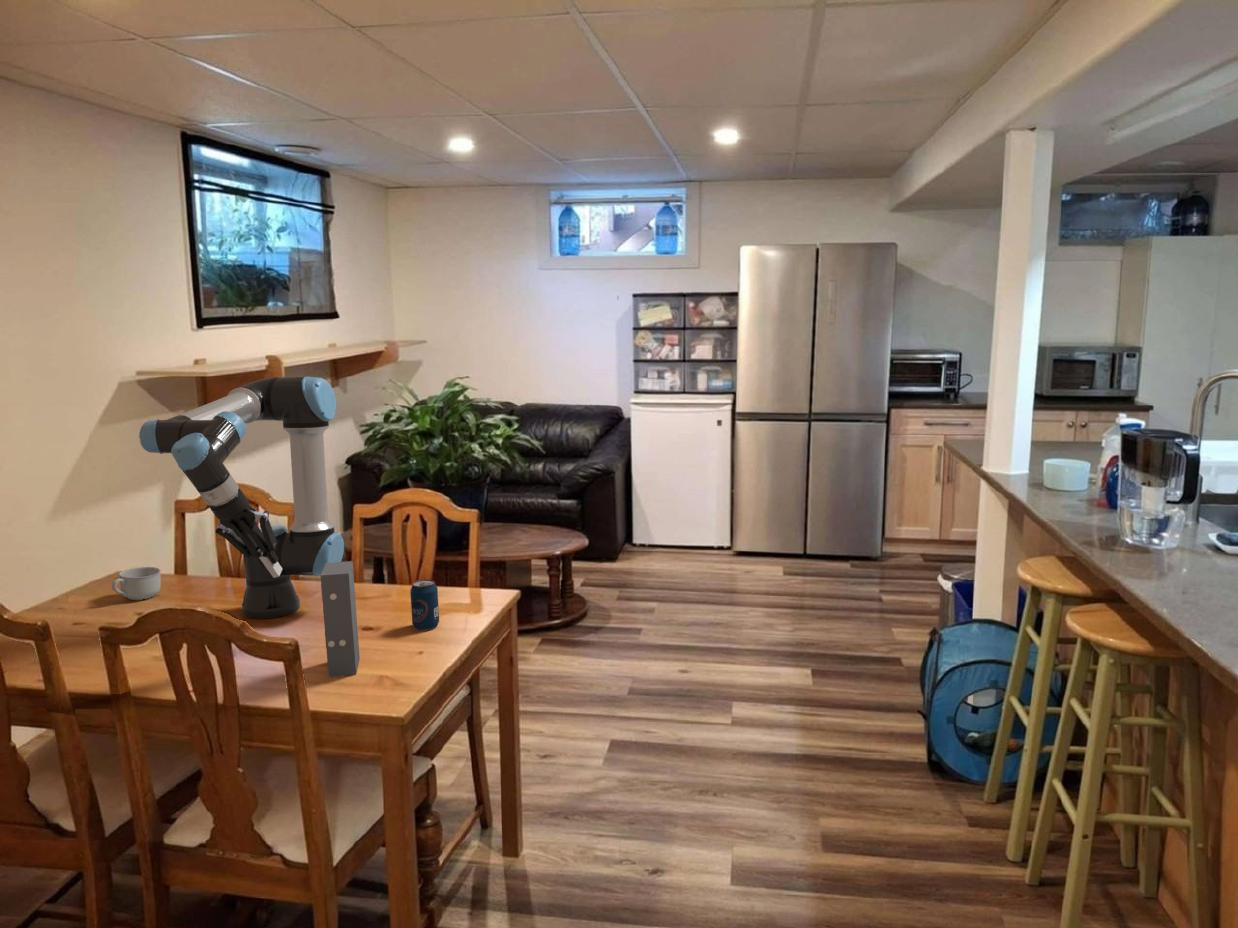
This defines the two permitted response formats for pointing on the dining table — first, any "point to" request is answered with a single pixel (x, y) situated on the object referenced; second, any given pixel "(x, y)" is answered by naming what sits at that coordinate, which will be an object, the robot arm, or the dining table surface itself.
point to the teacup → (138, 583)
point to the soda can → (424, 605)
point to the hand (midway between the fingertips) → (278, 573)
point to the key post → (340, 618)
